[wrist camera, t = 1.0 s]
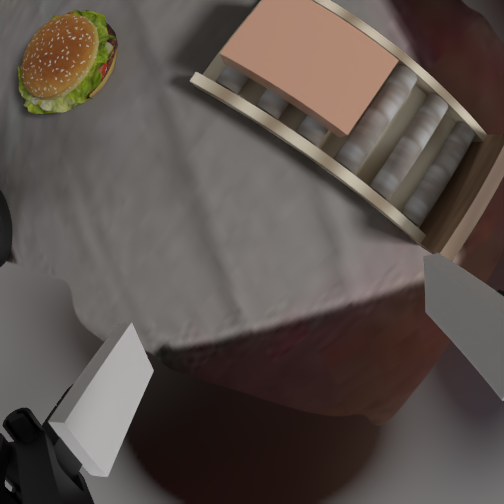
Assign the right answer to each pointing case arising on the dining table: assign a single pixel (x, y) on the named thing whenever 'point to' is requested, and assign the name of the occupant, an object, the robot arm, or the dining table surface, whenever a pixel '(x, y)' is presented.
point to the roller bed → (387, 145)
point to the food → (67, 62)
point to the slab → (310, 60)
